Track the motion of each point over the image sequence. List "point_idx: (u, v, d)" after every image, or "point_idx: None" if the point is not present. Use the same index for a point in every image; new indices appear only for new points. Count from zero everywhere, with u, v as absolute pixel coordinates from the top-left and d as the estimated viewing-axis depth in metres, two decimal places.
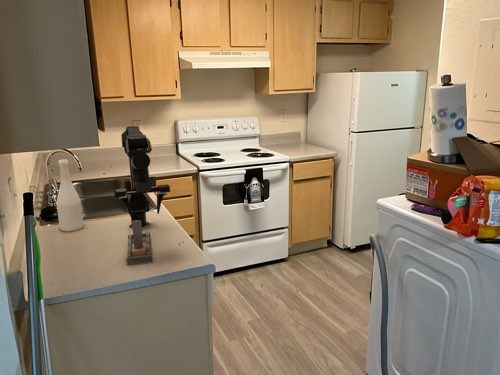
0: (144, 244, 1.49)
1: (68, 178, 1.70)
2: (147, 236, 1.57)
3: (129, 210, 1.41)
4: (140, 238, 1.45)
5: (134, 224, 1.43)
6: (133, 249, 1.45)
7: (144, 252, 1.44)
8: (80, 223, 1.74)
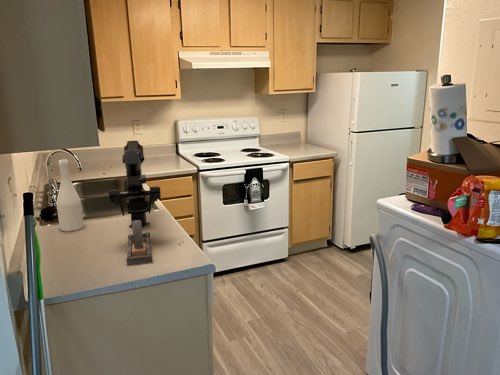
0: (144, 244, 1.49)
1: (68, 178, 1.70)
2: (147, 236, 1.57)
3: (122, 208, 1.50)
4: (140, 238, 1.45)
5: (134, 224, 1.43)
6: (133, 249, 1.45)
7: (144, 252, 1.44)
8: (80, 223, 1.74)
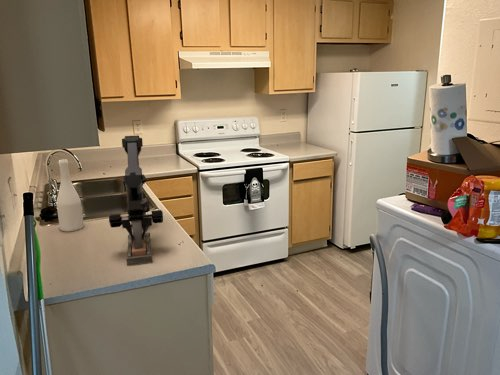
0: (144, 244, 1.49)
1: (68, 178, 1.70)
2: (147, 236, 1.57)
3: (131, 233, 1.44)
4: (140, 238, 1.45)
5: (134, 224, 1.43)
6: (133, 249, 1.45)
7: (144, 252, 1.44)
8: (80, 223, 1.74)
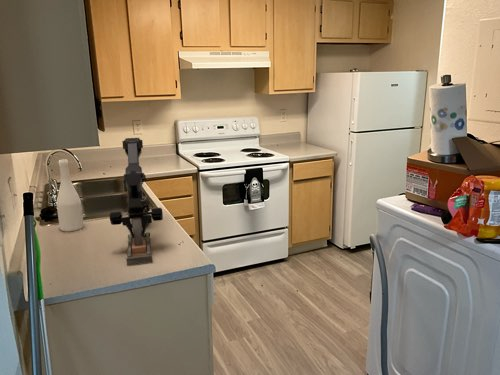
0: (144, 241, 1.52)
1: (68, 178, 1.70)
2: (147, 236, 1.57)
3: (131, 230, 1.47)
4: (140, 235, 1.47)
5: (134, 221, 1.46)
6: (133, 246, 1.47)
7: (144, 249, 1.47)
8: (80, 223, 1.74)
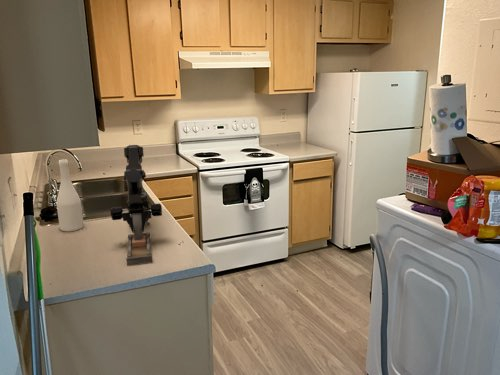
0: (144, 235, 1.57)
1: (68, 178, 1.70)
2: (147, 236, 1.57)
3: (131, 225, 1.52)
4: (140, 230, 1.53)
5: (134, 216, 1.51)
6: (133, 240, 1.53)
7: (144, 243, 1.52)
8: (80, 223, 1.74)
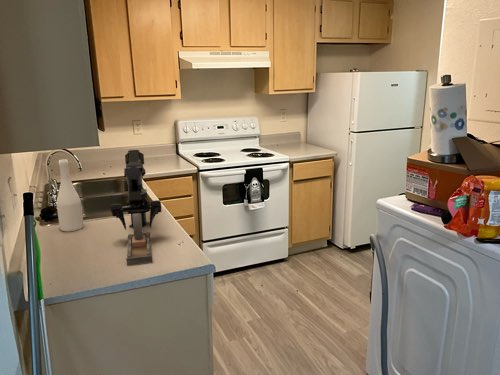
0: (144, 235, 1.57)
1: (68, 178, 1.70)
2: (147, 236, 1.57)
3: (123, 222, 1.55)
4: (140, 230, 1.53)
5: (134, 216, 1.51)
6: (133, 240, 1.53)
7: (144, 243, 1.52)
8: (80, 223, 1.74)
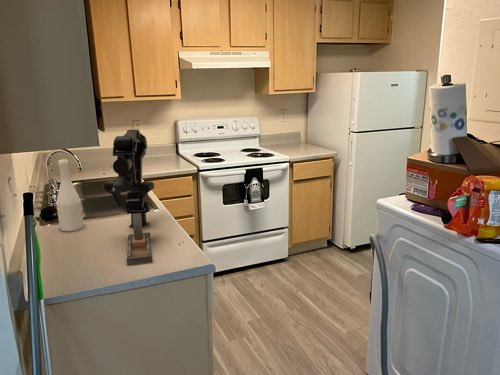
0: (144, 235, 1.57)
1: (68, 178, 1.70)
2: (147, 236, 1.57)
3: (117, 201, 1.61)
4: (140, 230, 1.53)
5: (134, 216, 1.51)
6: (133, 240, 1.53)
7: (144, 243, 1.52)
8: (80, 223, 1.74)
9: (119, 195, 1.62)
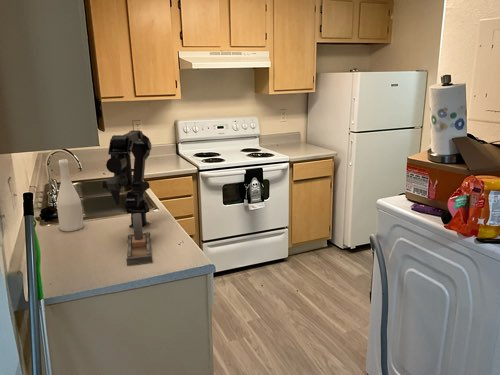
0: (144, 235, 1.57)
1: (68, 178, 1.70)
2: (147, 236, 1.57)
3: (114, 199, 1.63)
4: (140, 230, 1.53)
5: (134, 216, 1.51)
6: (133, 240, 1.53)
7: (144, 243, 1.52)
8: (80, 223, 1.74)
9: (117, 193, 1.64)
